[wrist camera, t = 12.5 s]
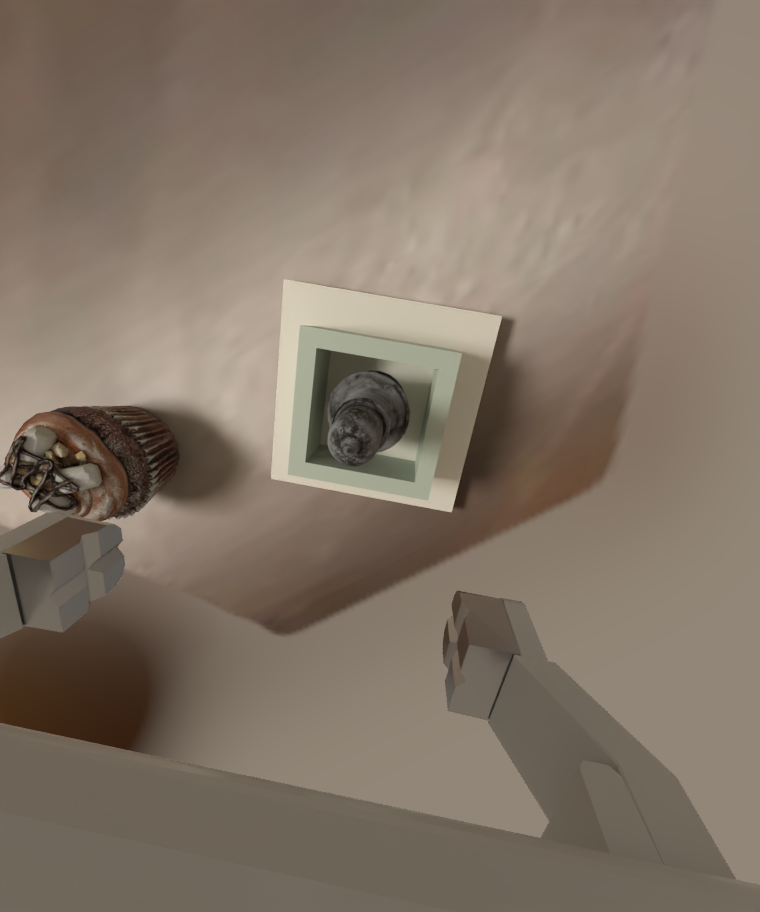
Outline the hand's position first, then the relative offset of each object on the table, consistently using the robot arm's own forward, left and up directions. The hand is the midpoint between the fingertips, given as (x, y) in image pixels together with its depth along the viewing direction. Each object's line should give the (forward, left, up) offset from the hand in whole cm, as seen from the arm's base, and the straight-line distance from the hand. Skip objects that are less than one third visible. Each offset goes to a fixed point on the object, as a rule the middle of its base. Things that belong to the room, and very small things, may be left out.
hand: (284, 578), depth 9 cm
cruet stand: (0, 0, -23) cm, 23 cm away
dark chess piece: (0, 0, -22) cm, 22 cm away
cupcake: (+8, -21, -23) cm, 32 cm away
